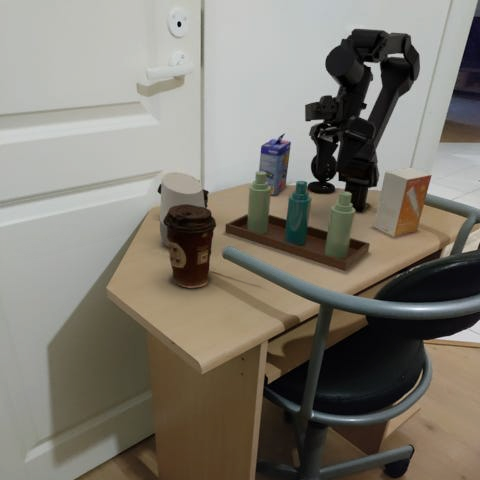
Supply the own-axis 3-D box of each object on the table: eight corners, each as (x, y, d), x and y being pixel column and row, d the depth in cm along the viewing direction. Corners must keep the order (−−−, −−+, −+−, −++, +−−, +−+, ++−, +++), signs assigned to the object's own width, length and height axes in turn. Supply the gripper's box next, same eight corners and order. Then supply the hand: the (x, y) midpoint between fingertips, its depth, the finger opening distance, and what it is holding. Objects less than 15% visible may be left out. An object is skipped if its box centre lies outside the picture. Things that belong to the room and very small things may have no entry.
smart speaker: (189, 259, 93) (188, 188, 86) (151, 248, 97) (146, 178, 89) (215, 242, 101) (216, 175, 93) (178, 232, 104) (176, 167, 96)
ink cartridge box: (276, 196, 127) (281, 138, 119) (256, 192, 128) (259, 136, 121) (287, 185, 135) (292, 131, 127) (268, 182, 136) (272, 128, 128)
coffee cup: (173, 295, 82) (170, 222, 75) (160, 273, 88) (156, 204, 81) (221, 286, 85) (222, 216, 78) (205, 266, 91) (205, 199, 84)
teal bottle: (281, 237, 103) (287, 179, 96) (302, 236, 104) (309, 178, 97) (287, 246, 99) (294, 186, 92) (309, 245, 100) (316, 185, 93)
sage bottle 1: (253, 224, 109) (256, 168, 102) (271, 228, 107) (276, 172, 100) (243, 230, 105) (245, 173, 98) (261, 235, 103) (265, 177, 97)
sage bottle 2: (329, 247, 100) (338, 187, 93) (350, 252, 98) (361, 192, 91) (320, 255, 96) (329, 194, 89) (342, 261, 94) (353, 199, 88)
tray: (254, 219, 112) (254, 210, 111) (367, 253, 99) (370, 243, 98) (225, 234, 105) (225, 224, 103) (344, 273, 91) (346, 262, 90)
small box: (394, 238, 106) (407, 179, 99) (372, 228, 111) (384, 171, 104) (418, 231, 110) (432, 174, 103) (396, 222, 115) (409, 166, 108)
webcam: (301, 189, 133) (305, 151, 127) (316, 183, 138) (320, 147, 132) (325, 196, 129) (331, 157, 123) (340, 189, 133) (345, 152, 128)
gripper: (299, 89, 105) (278, 161, 108) (338, 72, 88) (312, 159, 91) (342, 106, 108) (321, 176, 112) (388, 94, 91) (362, 176, 95)
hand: (327, 172), depth 102 cm, fingers open, 9 cm apart
